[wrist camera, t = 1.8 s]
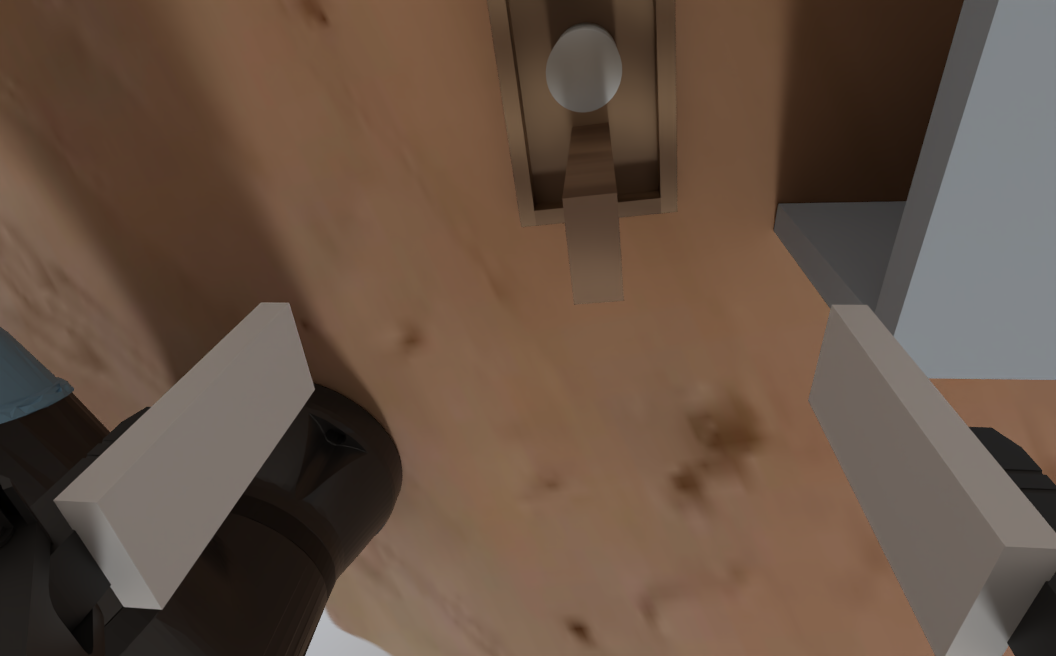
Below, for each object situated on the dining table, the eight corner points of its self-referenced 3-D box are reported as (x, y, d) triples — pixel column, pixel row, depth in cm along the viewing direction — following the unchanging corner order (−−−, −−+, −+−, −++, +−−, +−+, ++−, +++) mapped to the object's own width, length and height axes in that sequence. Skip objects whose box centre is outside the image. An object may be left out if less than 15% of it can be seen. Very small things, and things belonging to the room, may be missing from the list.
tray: (672, 199, 31) (712, 306, 21) (525, 214, 32) (493, 322, 22) (667, -191, 23) (727, -331, 13) (471, -152, 24) (382, -250, 14)
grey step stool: (773, 230, 31) (880, 377, 19) (839, -152, 23) (1089, -289, 11) (1038, 227, 30) (1323, 383, 18) (1208, -183, 22) (1921, -374, 10)
